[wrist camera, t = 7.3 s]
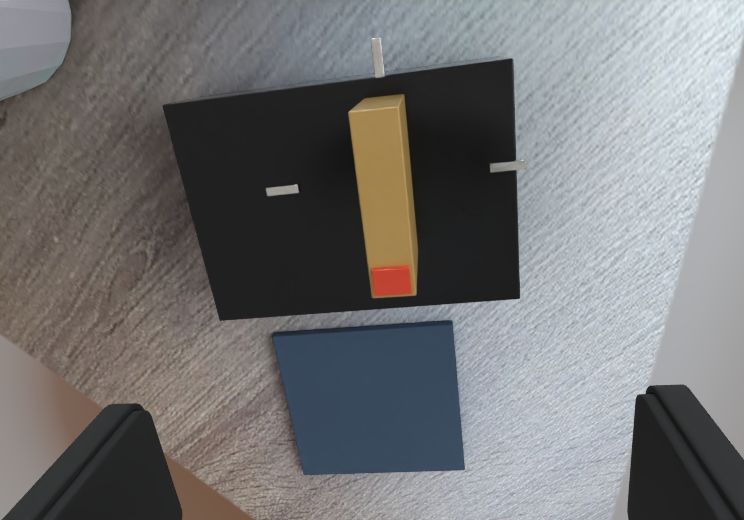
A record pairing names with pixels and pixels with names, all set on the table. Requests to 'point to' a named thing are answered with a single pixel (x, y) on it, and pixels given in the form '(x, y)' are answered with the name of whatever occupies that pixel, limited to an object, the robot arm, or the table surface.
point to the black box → (351, 189)
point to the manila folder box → (385, 194)
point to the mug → (31, 42)
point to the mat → (373, 398)
